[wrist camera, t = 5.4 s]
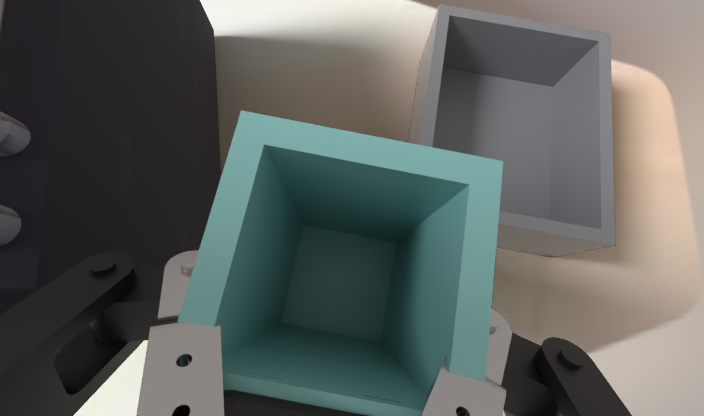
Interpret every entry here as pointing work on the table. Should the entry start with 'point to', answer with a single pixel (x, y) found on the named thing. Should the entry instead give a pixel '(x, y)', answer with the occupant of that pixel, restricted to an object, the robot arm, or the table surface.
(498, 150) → the big crate
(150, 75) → the radio
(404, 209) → the box
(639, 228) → the table surface
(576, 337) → the table surface
